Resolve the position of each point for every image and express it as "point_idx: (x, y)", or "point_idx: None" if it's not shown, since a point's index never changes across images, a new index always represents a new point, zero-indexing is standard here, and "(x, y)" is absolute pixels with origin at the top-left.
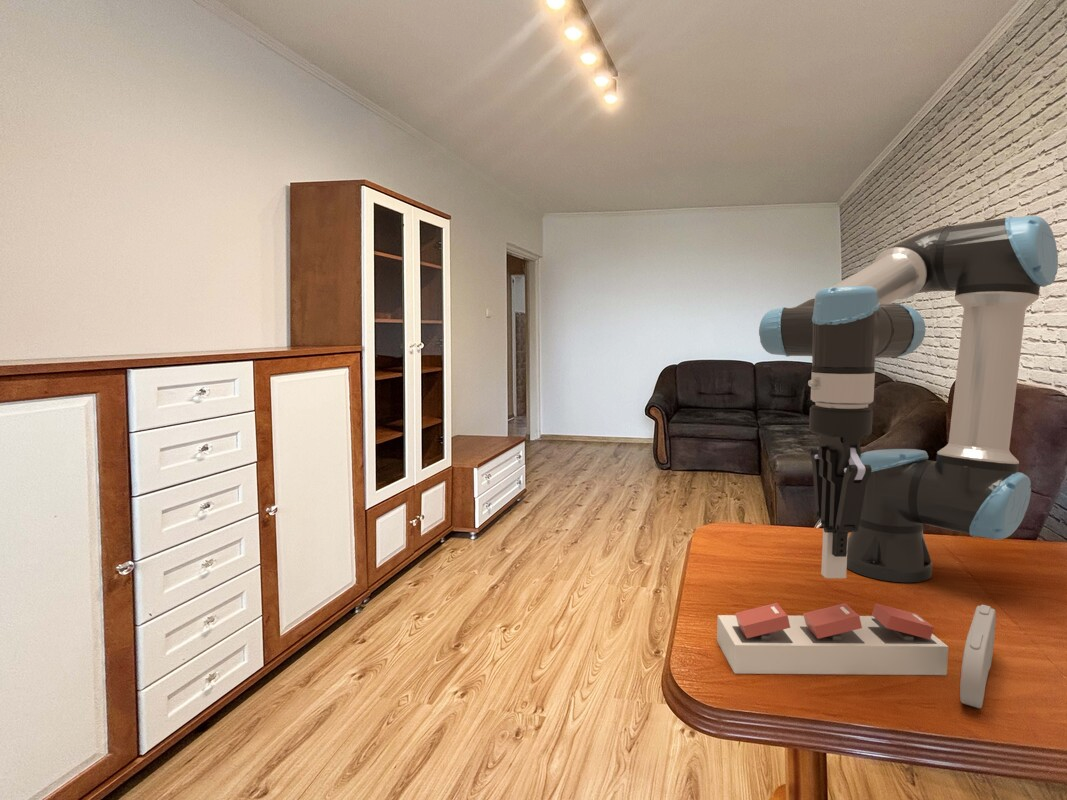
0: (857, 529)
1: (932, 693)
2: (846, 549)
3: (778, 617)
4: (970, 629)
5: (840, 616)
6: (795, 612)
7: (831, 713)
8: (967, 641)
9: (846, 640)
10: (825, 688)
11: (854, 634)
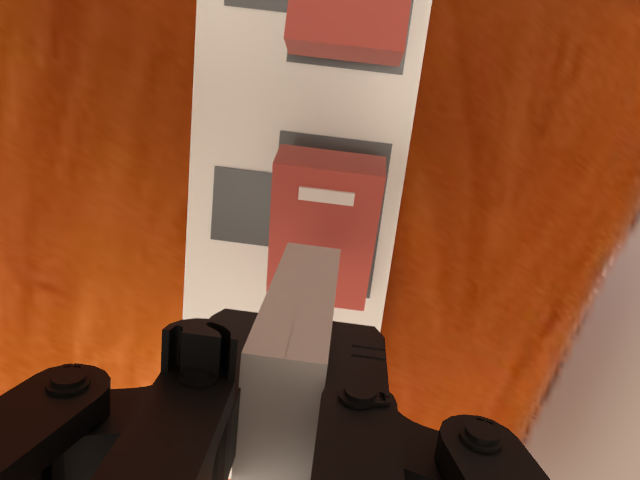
0: (515, 443)
1: (520, 4)
2: (379, 347)
3: None
4: None
5: (352, 225)
6: (16, 131)
7: (547, 318)
8: None
9: None
10: (447, 276)
11: (335, 143)
